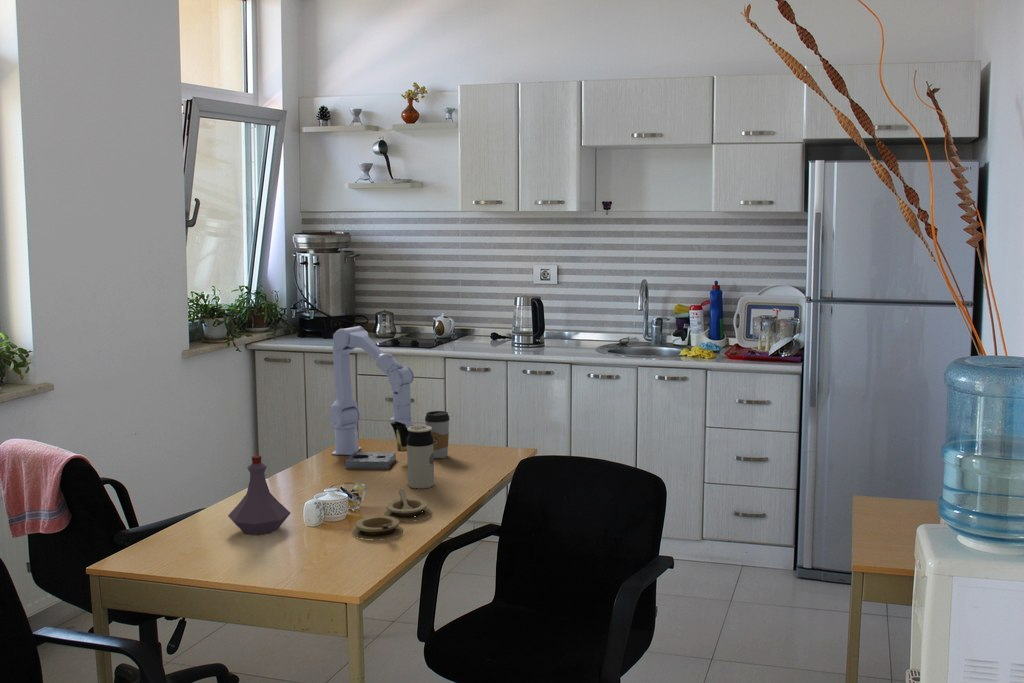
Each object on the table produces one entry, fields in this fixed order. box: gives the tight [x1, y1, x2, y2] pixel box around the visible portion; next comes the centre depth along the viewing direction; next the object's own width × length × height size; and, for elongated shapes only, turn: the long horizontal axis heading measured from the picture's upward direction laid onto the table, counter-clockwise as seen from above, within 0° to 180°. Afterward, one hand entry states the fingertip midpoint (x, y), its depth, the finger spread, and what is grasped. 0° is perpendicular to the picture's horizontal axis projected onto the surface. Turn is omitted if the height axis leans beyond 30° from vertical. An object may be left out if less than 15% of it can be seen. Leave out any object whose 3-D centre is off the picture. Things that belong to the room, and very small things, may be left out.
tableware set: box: [351, 487, 433, 541], centre depth 278 cm, size 30×20×6 cm, turn 158°
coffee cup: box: [424, 410, 450, 459], centre depth 347 cm, size 8×8×15 cm
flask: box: [227, 455, 291, 537], centre depth 273 cm, size 16×16×20 cm
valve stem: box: [396, 429, 407, 453], centre depth 339 cm, size 4×4×7 cm
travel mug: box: [406, 424, 435, 490], centre depth 312 cm, size 8×8×18 cm
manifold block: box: [344, 451, 397, 470], centre depth 339 cm, size 12×14×2 cm
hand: (402, 444), depth 340 cm, fingers closed on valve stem, 4 cm apart
